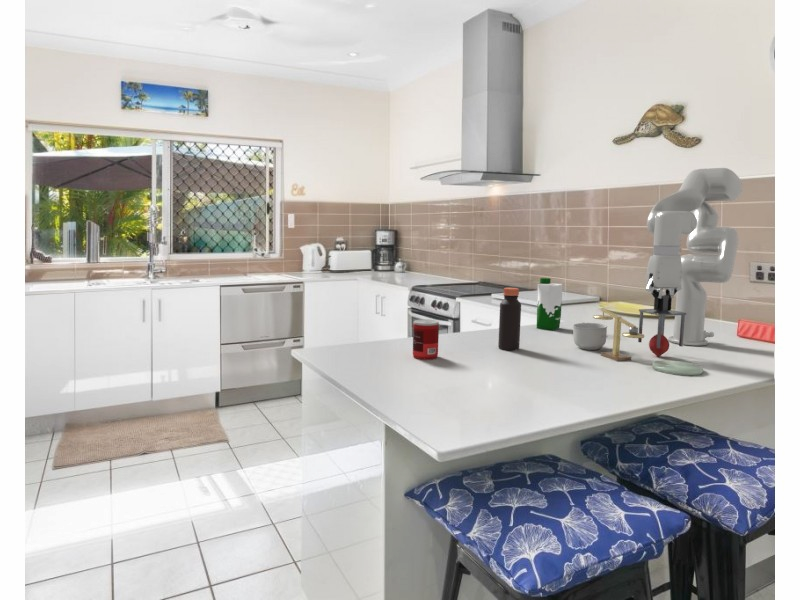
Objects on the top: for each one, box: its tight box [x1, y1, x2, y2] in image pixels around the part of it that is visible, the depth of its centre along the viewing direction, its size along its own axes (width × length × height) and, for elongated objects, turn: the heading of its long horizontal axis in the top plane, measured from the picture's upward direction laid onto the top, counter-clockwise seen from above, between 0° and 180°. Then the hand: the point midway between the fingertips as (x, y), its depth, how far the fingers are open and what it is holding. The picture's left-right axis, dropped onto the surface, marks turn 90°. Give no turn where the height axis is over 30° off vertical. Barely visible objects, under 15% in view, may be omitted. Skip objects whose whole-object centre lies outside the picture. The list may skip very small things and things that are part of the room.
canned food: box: [412, 318, 440, 360], centre depth 172 cm, size 8×8×11 cm
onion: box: [648, 332, 670, 357], centre depth 178 cm, size 6×6×8 cm
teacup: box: [572, 322, 608, 351], centre depth 191 cm, size 14×11×8 cm
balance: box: [592, 307, 645, 362], centre depth 175 cm, size 21×6×15 cm, turn 16°
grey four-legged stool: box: [637, 294, 686, 348], centre depth 178 cm, size 10×10×16 cm
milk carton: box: [536, 277, 563, 331], centre depth 226 cm, size 9×9×20 cm
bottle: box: [497, 287, 522, 352], centre depth 185 cm, size 7×7×20 cm
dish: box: [652, 359, 704, 376], centre depth 162 cm, size 13×13×1 cm
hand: (662, 309), depth 178 cm, fingers closed on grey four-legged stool, 2 cm apart
